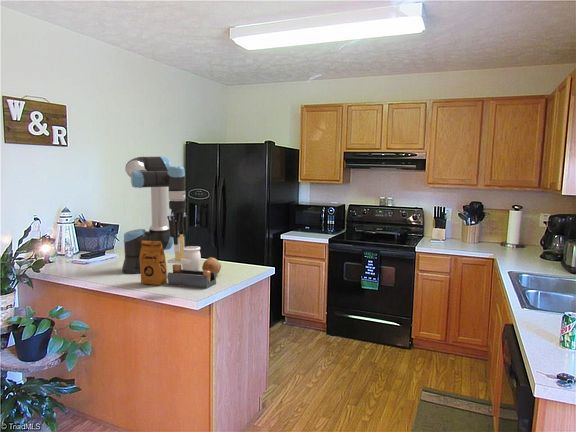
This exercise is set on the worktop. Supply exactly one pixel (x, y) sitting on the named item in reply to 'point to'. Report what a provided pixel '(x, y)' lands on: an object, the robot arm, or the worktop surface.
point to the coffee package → (152, 263)
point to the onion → (212, 265)
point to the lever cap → (180, 254)
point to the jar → (193, 254)
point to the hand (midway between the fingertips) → (179, 250)
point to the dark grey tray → (191, 277)
